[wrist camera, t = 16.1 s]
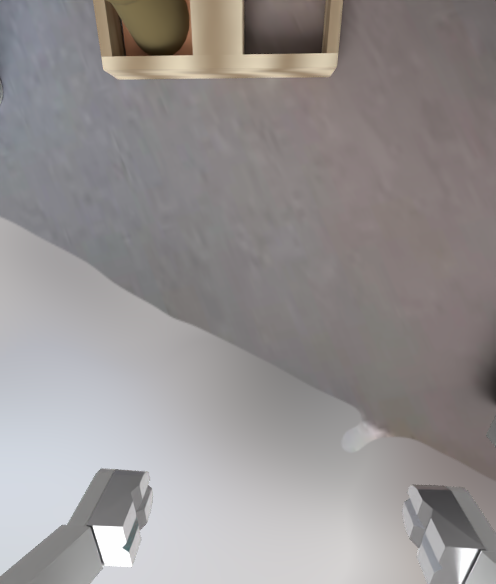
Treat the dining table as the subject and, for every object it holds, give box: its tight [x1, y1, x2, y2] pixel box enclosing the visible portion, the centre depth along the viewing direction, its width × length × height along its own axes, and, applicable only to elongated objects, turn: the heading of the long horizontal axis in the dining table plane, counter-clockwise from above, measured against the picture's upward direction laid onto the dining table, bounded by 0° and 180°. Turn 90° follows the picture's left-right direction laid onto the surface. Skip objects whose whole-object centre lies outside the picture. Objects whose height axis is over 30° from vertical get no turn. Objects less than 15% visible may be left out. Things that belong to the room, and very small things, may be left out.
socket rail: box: [93, 0, 343, 79], centre depth 27 cm, size 22×10×3 cm, turn 90°
